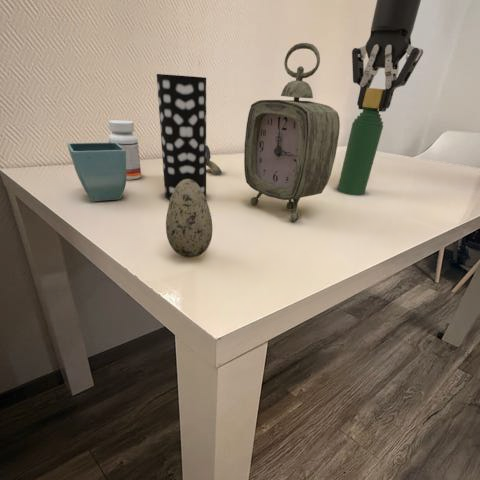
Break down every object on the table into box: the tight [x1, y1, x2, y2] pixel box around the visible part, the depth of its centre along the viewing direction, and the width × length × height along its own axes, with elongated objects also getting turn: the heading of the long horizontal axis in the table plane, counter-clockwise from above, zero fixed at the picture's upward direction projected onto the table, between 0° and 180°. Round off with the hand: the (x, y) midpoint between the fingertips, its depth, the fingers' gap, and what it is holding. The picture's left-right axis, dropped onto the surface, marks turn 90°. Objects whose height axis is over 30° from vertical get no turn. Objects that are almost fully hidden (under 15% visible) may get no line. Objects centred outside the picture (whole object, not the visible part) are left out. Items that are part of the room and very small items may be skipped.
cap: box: [362, 87, 386, 110], centre depth 69 cm, size 4×4×3 cm
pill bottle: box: [108, 119, 142, 181], centre depth 75 cm, size 6×6×11 cm
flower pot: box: [66, 142, 127, 202], centre depth 62 cm, size 9×9×9 cm
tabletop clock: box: [243, 42, 341, 223], centre depth 57 cm, size 14×9×25 cm, turn 40°
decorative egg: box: [165, 179, 213, 259], centre depth 42 cm, size 6×6×10 cm
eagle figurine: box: [206, 144, 223, 176], centre depth 86 cm, size 8×7×9 cm
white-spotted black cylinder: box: [156, 73, 207, 201], centre depth 62 cm, size 8×8×20 cm
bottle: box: [337, 107, 384, 196], centre depth 74 cm, size 6×6×20 cm
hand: (371, 109), depth 70 cm, fingers closed on cap, 4 cm apart
